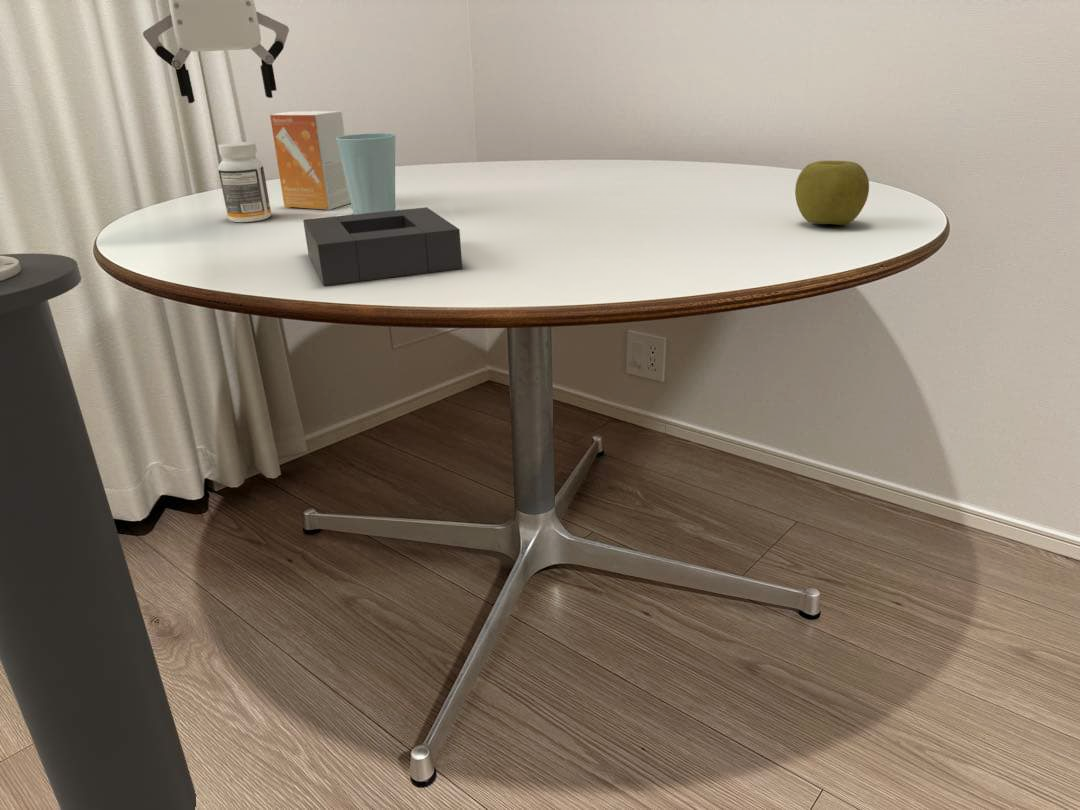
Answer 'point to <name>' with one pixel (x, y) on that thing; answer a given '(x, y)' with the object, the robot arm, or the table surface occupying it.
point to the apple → (831, 192)
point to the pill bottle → (243, 182)
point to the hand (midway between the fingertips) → (231, 99)
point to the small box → (310, 158)
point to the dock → (381, 245)
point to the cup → (369, 170)
